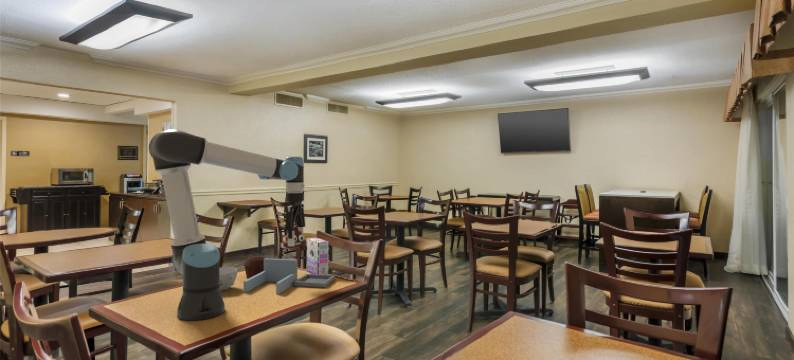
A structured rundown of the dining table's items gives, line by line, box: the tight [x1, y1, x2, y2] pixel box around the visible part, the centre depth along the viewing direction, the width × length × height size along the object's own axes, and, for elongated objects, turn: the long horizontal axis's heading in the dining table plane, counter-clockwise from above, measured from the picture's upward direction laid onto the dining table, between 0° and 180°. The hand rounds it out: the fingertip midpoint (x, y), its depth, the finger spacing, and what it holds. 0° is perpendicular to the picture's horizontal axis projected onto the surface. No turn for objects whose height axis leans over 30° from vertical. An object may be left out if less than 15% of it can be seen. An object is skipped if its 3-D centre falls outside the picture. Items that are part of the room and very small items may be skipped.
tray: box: [293, 273, 336, 289], centre depth 188 cm, size 14×14×2 cm
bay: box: [243, 257, 298, 295], centre depth 182 cm, size 19×15×10 cm
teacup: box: [219, 266, 238, 292], centre depth 177 cm, size 15×12×8 cm
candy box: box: [306, 237, 330, 275], centre depth 206 cm, size 14×6×16 cm, turn 34°
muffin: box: [243, 254, 266, 280], centre depth 197 cm, size 12×11×10 cm
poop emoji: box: [282, 224, 307, 249], centre depth 184 cm, size 10×8×9 cm
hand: (295, 243), depth 184 cm, fingers closed on poop emoji, 9 cm apart
